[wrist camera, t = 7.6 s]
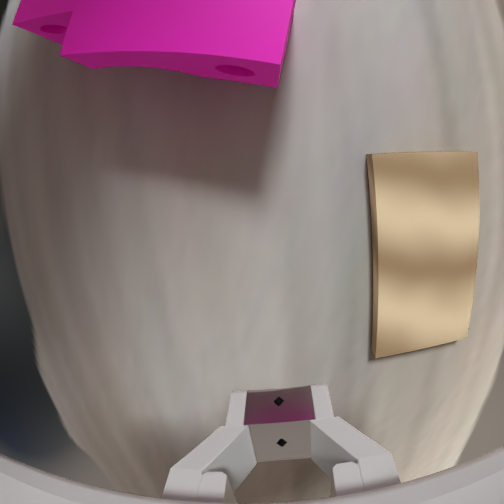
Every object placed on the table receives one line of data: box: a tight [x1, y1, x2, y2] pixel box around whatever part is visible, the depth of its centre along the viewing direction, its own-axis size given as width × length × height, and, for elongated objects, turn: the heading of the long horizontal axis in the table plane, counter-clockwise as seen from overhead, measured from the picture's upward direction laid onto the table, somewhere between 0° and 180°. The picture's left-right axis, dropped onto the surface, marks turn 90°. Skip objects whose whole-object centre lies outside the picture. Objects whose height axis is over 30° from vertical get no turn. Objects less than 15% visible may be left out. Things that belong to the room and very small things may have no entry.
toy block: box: [12, 0, 296, 88], centre depth 14 cm, size 15×6×8 cm, turn 79°
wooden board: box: [366, 152, 479, 358], centre depth 20 cm, size 14×8×1 cm, turn 8°
